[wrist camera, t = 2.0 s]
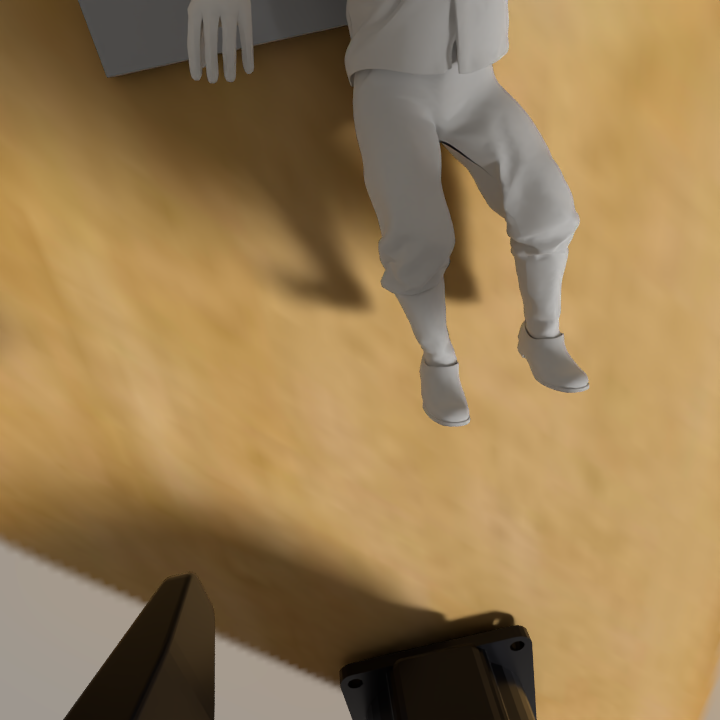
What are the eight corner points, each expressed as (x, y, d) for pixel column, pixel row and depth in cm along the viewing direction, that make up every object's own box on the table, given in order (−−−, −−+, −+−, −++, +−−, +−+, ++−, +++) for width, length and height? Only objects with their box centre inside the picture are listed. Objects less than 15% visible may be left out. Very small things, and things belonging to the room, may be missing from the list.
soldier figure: (288, 486, 9) (-210, -1662, 2) (247, 333, 13) (22, -606, 6) (666, 376, 11) (1195, -1052, 3) (534, 268, 15) (655, -539, 7)
